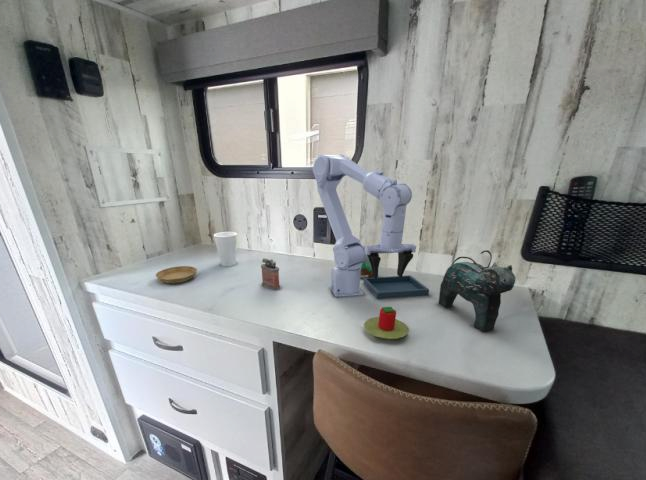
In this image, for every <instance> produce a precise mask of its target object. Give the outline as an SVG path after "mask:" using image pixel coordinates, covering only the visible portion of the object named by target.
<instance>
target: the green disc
mask: <svg viewBox="0 0 646 480" xmlns="http://www.w3.org/2000/svg"><path fill="white" fill-rule="evenodd" d="M378 324H379V316H373V317H371V318H368V319H366V320H365V321H364V323H363V328H364V330H365V331H366V332H368V334H370V335H372V336H374V337H377V338H382V339H388V340H389V339H391V340H395V339H399V338H403V337H405V336H407V335H408V334H409V332H410V330H409V329H410V328H409V327H408V324H406V323H405V322H403V321H402V320H400V319H397V318H396V319H395V326H394V329H393V330H389V331H387V330H382V329H380V328H379V326H378Z"/></svg>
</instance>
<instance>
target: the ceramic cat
mask: <svg viewBox="0 0 646 480" xmlns="http://www.w3.org/2000/svg"><path fill="white" fill-rule="evenodd" d="M484 253H488V255H489V256H490V259H489V263H488V264H487V266H483V265H481V264H480V263H477V262H476V260H475V259H473V258H471V257H469V256H458V257H456V258H455V259H454V261H452V263H451V265H450V266H449V267H448V268H447V269H446V271H445V273H444V275H443V278H442V281H441V283H440V287H439V294H438V295H439V297H438V305H439V306H441V307H442V308H444V309H449V308H452V307H453V305H454V303H455V301H456V298H457V296H460V297H461V298H462V299H464V300H465V301H467V302H470V303H471V304H472V306H473V310H474V313H475V318H474V323H473V327H474V328H475V329H478V330H479V331H480V332H482V333H484V332H490V331H494V329H495V325H496V322H497V319H498V317H499V314H500V313H499V312H500V307H501V304H502V299H501V296H502V295H501V294H503V293H507V292H511V291H512V290H513V288H514V287H515V284H516V276H515V274H514V272H513V265H512V264H510V265H508V266H506V267H503V266H498V264H497V262H494V263H493V264H492V265H491V263H492V256H493V255H492V253H491V251H490V250H488V249H486V250H485V249H484V250H483V251H481V252H480V255H482V254H484ZM460 259H468V260H470V261H471V262H470V261H461V262H460V261H459V260H460ZM457 261H459V262H457ZM490 265H491V266H490Z"/></svg>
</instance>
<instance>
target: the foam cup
mask: <svg viewBox="0 0 646 480" xmlns="http://www.w3.org/2000/svg"><path fill="white" fill-rule="evenodd" d="M213 240H214V243H215V246H216V250H217V253H218V258H219V261H220V264H221V266H222V267H233V266H236V265H237V252H238V251H237V249H238V234H237V232H235V231H221V232H216V233H213Z"/></svg>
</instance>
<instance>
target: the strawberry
mask: <svg viewBox="0 0 646 480" xmlns="http://www.w3.org/2000/svg"><path fill="white" fill-rule="evenodd" d="M378 317H379V324H378V326H379V328H380V329H382V330H387V331H389V330H393V329H394V326H395V319H397V318H396V317H397V310H396V309H394V308H393V307H392V306H382V307H381V308H380V309H379V316H378Z"/></svg>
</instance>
